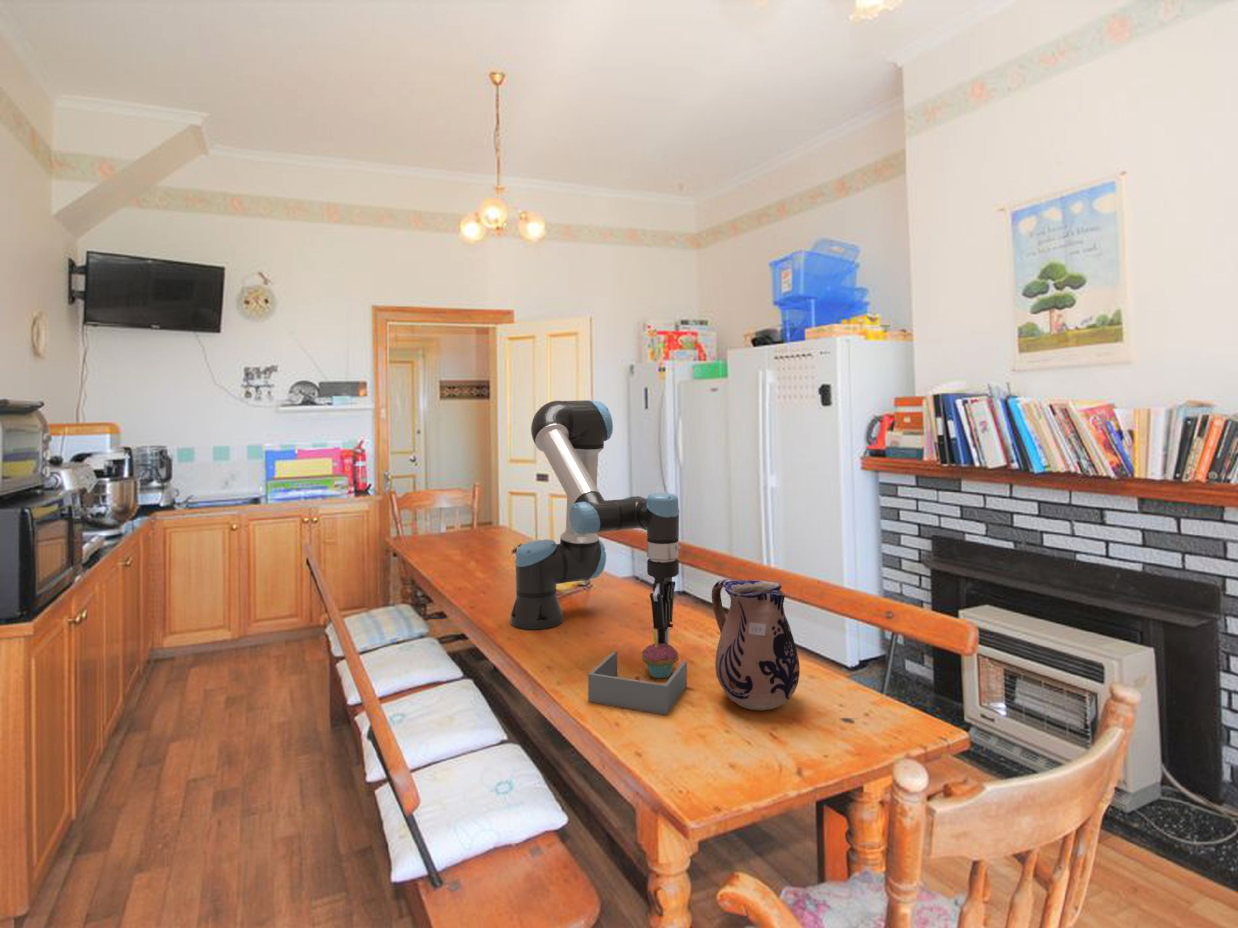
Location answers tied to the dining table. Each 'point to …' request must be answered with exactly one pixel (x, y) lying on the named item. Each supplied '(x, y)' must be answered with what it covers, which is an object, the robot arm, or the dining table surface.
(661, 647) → the cupcake
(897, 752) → the dining table surface
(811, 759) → the dining table surface
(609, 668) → the box
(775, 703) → the ceramic pitcher
